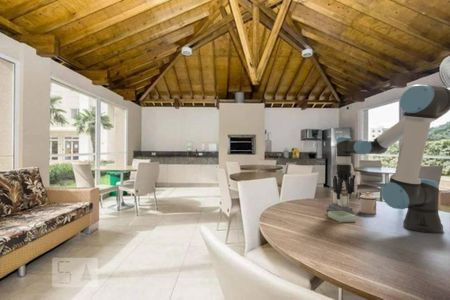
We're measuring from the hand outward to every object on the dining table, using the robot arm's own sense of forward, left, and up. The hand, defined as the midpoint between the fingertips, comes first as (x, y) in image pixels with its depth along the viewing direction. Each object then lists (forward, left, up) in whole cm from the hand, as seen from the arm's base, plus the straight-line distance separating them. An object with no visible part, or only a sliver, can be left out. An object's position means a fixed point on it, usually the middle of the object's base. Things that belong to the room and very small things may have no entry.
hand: (343, 204), depth 155 cm
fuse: (+7, 0, -3) cm, 8 cm away
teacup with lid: (+3, -17, -5) cm, 18 cm away
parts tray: (-10, +8, -5) cm, 14 cm away
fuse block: (+4, 0, -5) cm, 6 cm away
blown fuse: (0, 0, -3) cm, 3 cm away
